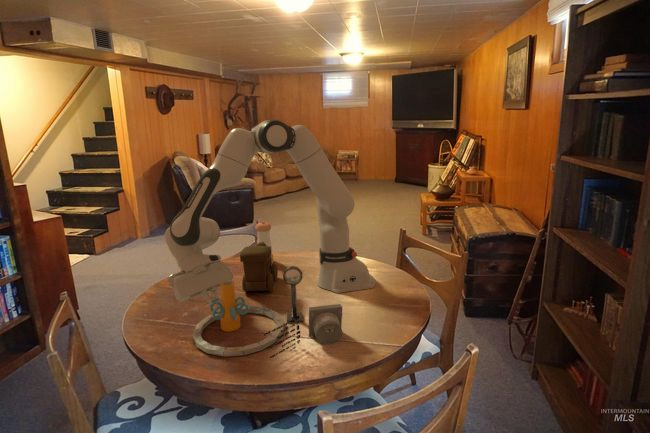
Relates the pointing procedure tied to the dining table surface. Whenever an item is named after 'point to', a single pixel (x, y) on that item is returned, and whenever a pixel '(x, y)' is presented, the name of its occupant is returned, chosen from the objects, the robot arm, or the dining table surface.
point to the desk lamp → (293, 291)
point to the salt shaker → (264, 234)
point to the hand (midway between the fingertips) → (214, 301)
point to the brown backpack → (258, 268)
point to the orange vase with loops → (229, 308)
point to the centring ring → (245, 349)
